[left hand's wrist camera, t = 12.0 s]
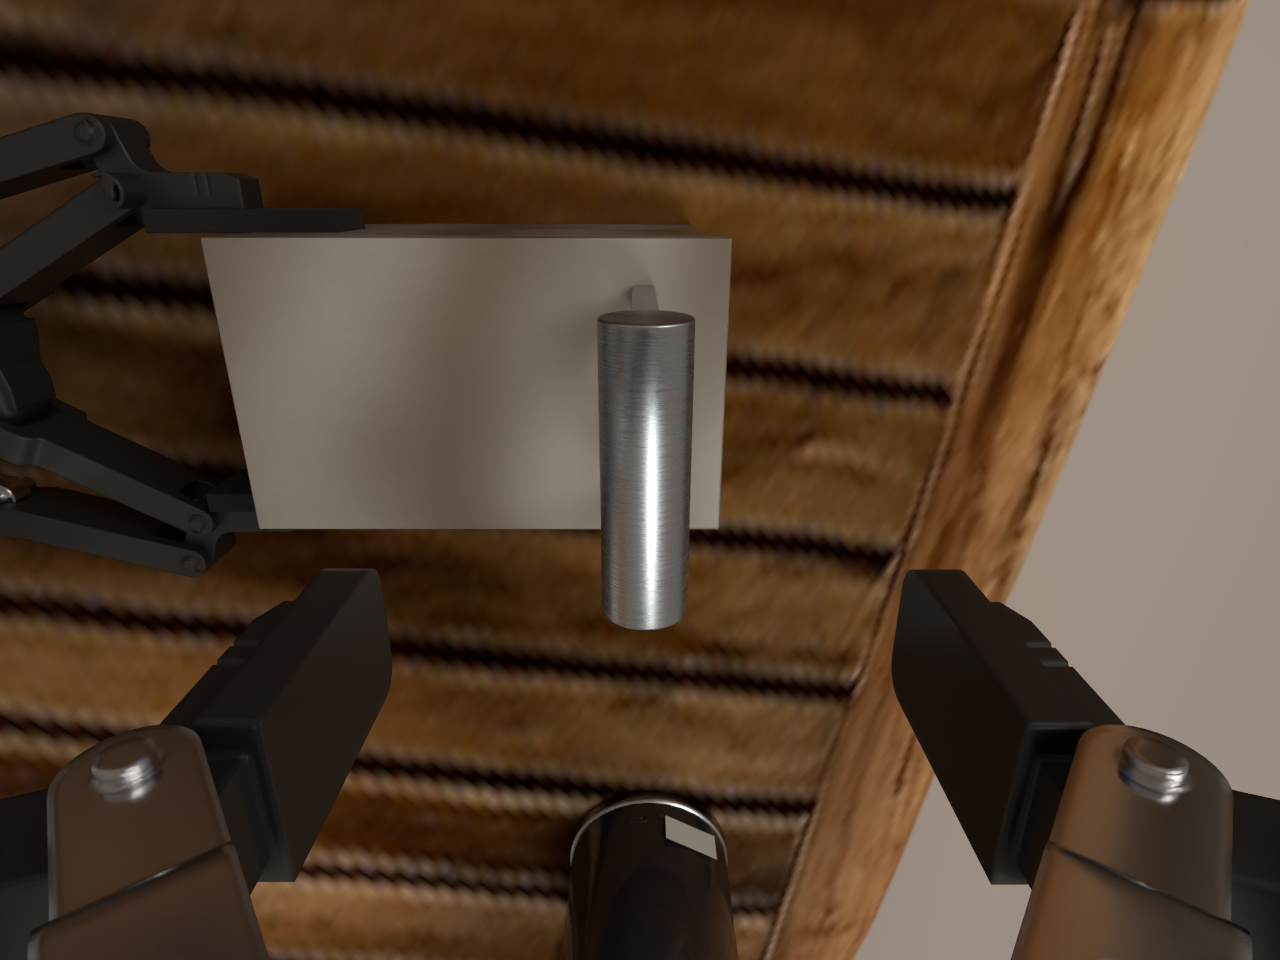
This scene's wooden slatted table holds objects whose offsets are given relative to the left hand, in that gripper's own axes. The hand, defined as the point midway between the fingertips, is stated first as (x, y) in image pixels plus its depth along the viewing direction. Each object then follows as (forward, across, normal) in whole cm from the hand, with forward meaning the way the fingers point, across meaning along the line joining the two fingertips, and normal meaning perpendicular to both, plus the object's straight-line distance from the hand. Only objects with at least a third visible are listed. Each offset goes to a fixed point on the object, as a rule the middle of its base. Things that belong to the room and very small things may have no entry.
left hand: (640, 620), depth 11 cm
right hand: (+18, +10, 0) cm, 21 cm away
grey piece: (+15, +5, 0) cm, 15 cm away
